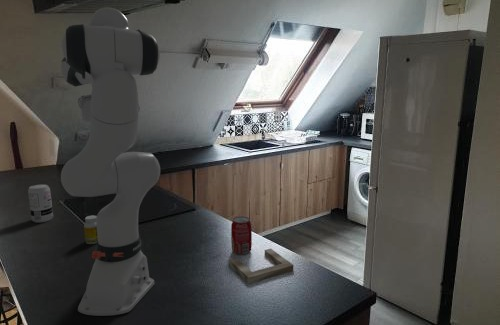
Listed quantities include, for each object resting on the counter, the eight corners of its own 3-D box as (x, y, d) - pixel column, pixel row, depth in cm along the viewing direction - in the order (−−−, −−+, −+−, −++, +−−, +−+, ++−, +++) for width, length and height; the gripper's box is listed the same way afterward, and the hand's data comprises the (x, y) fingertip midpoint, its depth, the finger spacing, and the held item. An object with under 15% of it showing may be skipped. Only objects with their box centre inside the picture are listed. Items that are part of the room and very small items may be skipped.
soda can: (240, 245, 135) (240, 214, 133) (255, 250, 131) (255, 218, 128) (227, 252, 130) (226, 219, 127) (242, 258, 126) (242, 224, 123)
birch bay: (293, 270, 117) (293, 264, 116) (248, 283, 109) (248, 277, 109) (270, 253, 129) (270, 248, 128) (228, 264, 121) (228, 258, 121)
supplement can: (32, 218, 163) (27, 185, 160) (53, 215, 167) (49, 183, 164) (31, 224, 156) (26, 190, 153) (53, 221, 160) (49, 187, 157)
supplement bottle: (88, 238, 142) (86, 214, 140) (103, 238, 142) (100, 214, 140) (83, 244, 137) (80, 219, 135) (98, 244, 137) (95, 219, 135)
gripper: (78, 96, 127) (88, 135, 130) (136, 87, 138) (144, 124, 141) (74, 97, 132) (84, 135, 135) (131, 88, 143) (139, 124, 146)
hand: (115, 129), depth 138 cm, fingers open, 8 cm apart
